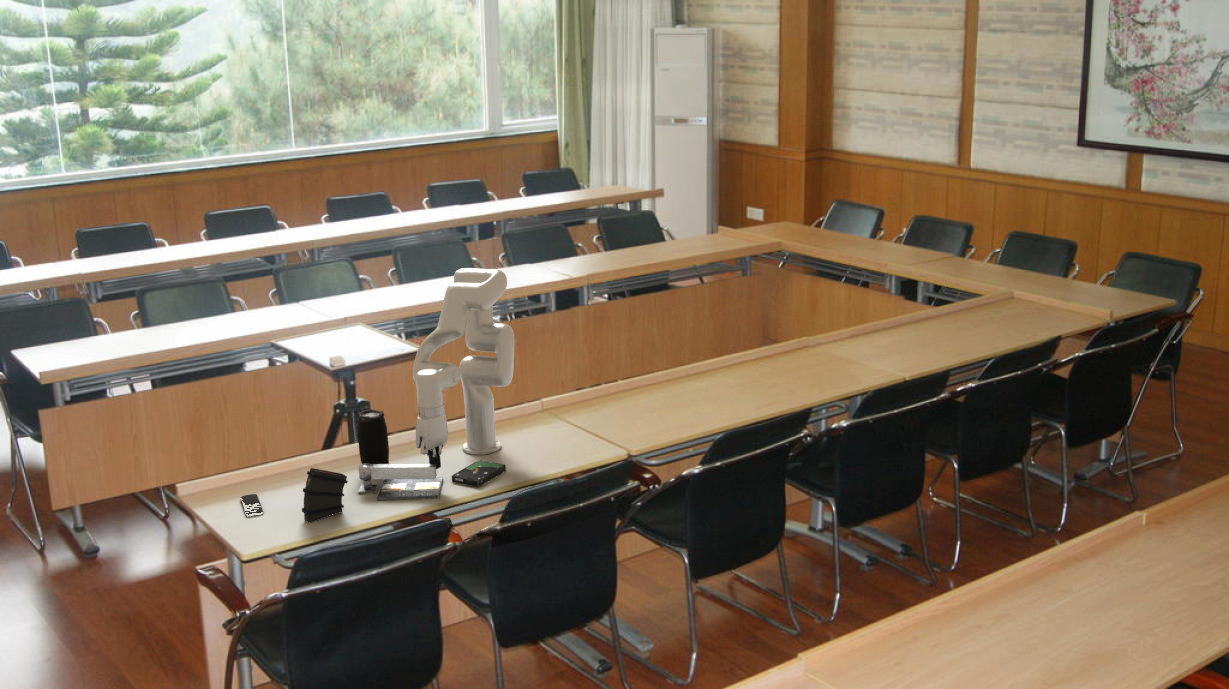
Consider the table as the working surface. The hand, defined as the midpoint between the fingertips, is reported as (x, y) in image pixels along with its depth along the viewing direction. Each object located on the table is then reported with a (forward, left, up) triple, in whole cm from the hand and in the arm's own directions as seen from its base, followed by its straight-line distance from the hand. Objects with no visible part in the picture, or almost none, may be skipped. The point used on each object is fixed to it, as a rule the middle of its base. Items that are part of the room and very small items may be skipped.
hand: (435, 467), depth 363 cm
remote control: (+10, -53, -7) cm, 55 cm away
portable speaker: (-14, -21, -6) cm, 25 cm away
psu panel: (+2, -8, -6) cm, 10 cm away
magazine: (+18, -30, -6) cm, 35 cm away
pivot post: (+1, -21, -6) cm, 21 cm away
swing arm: (+2, -11, -2) cm, 12 cm away
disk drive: (-6, +12, -7) cm, 16 cm away
